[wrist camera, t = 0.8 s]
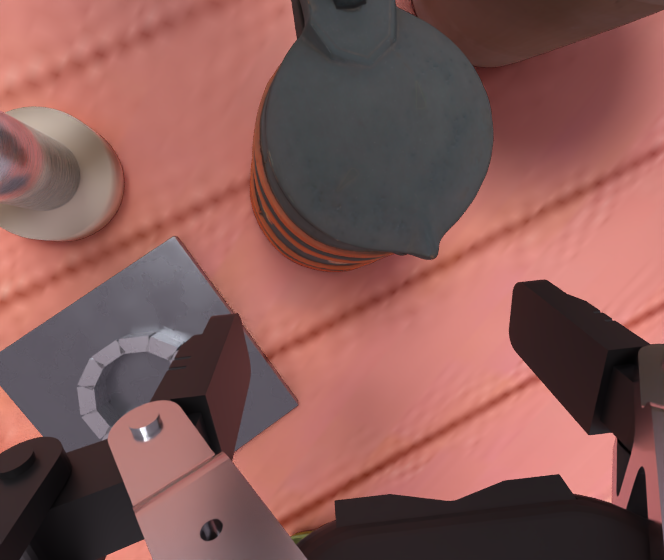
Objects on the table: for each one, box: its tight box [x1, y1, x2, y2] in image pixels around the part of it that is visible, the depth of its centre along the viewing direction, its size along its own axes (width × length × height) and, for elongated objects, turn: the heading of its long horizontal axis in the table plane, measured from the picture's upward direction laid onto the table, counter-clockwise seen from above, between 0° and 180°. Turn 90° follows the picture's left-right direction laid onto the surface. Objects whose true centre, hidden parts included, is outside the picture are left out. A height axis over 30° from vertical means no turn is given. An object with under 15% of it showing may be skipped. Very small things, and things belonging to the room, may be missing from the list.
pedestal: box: [0, 107, 124, 241], centre depth 30 cm, size 10×10×2 cm
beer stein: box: [250, 0, 493, 272], centre depth 24 cm, size 19×15×20 cm
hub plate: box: [0, 236, 298, 453], centre depth 32 cm, size 18×18×3 cm
